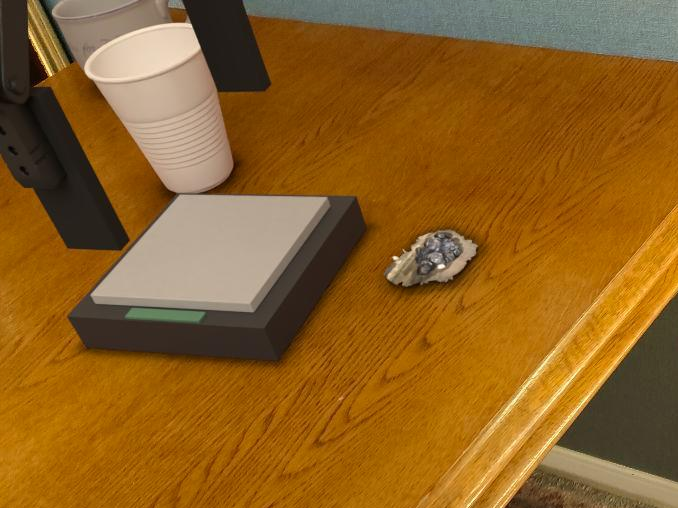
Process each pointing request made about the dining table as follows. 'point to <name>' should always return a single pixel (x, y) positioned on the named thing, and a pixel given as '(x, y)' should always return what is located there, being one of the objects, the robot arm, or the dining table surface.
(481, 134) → the dining table surface
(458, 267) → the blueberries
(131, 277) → the scale
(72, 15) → the teacup
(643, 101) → the dining table surface
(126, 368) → the dining table surface
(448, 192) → the dining table surface
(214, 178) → the cup
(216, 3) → the robot arm
